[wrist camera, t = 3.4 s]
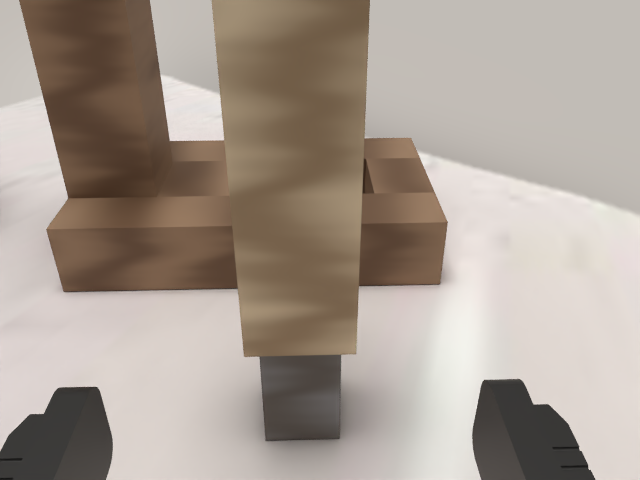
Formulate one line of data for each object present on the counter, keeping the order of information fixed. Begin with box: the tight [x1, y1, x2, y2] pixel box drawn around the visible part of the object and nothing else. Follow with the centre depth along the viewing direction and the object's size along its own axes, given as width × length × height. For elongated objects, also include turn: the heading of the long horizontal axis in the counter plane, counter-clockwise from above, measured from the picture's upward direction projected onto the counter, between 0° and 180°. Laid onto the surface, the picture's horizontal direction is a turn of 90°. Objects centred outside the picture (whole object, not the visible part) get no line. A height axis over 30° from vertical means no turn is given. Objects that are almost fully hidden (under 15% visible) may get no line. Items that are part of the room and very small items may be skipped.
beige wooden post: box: [212, 0, 370, 440], centre depth 21 cm, size 4×4×18 cm
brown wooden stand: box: [19, 0, 448, 291], centre depth 33 cm, size 22×12×22 cm, turn 92°
